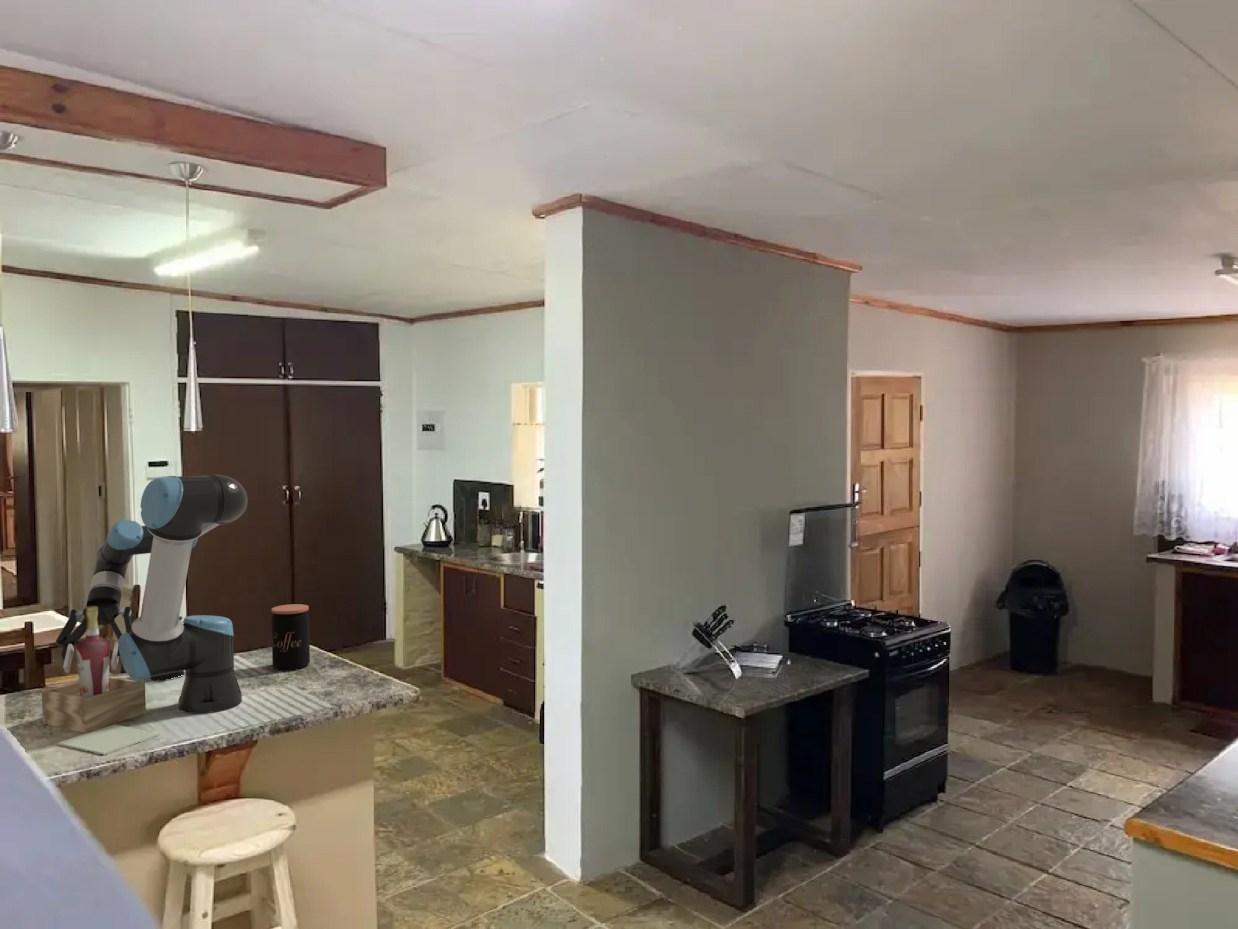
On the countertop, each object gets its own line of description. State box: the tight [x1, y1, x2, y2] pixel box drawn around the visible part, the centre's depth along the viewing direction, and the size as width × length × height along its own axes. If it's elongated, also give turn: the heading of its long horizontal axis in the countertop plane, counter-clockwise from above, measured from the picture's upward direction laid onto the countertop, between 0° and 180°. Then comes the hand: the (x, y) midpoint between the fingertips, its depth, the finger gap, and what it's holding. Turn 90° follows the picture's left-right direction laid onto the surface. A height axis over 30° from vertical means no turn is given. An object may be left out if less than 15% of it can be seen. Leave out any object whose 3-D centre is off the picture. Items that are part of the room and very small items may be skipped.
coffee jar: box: [271, 603, 311, 671], centre depth 275 cm, size 11×11×18 cm
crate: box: [41, 675, 147, 734], centre depth 227 cm, size 16×16×8 cm
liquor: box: [75, 606, 111, 698], centre depth 226 cm, size 7×7×28 cm
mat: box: [57, 723, 161, 756], centre depth 211 cm, size 16×14×1 cm
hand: (90, 668), depth 223 cm, fingers open, 10 cm apart
